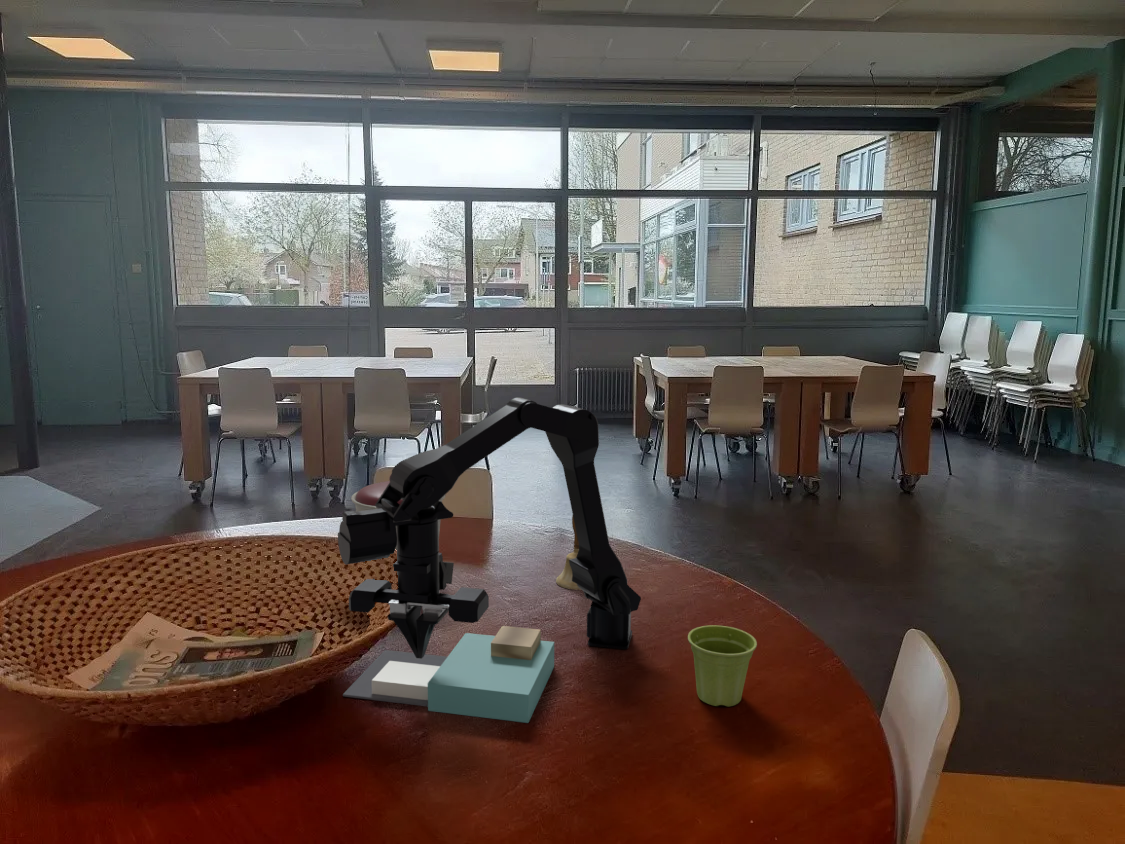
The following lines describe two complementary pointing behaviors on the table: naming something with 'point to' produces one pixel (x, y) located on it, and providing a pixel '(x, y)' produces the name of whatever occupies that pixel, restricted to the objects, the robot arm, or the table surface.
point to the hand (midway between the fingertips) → (420, 657)
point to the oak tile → (516, 642)
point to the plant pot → (721, 662)
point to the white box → (404, 680)
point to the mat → (364, 682)
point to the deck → (489, 681)
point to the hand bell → (566, 575)
